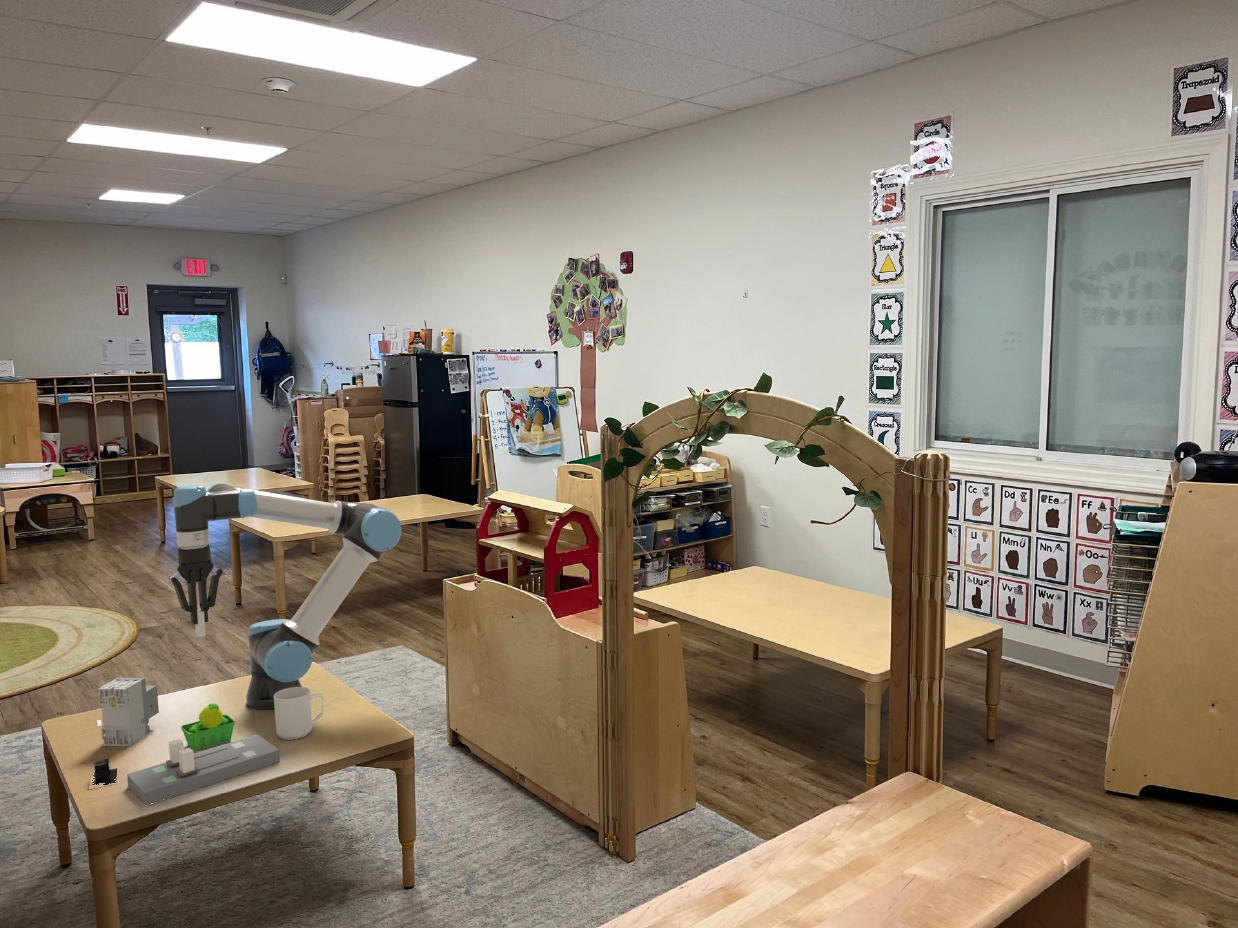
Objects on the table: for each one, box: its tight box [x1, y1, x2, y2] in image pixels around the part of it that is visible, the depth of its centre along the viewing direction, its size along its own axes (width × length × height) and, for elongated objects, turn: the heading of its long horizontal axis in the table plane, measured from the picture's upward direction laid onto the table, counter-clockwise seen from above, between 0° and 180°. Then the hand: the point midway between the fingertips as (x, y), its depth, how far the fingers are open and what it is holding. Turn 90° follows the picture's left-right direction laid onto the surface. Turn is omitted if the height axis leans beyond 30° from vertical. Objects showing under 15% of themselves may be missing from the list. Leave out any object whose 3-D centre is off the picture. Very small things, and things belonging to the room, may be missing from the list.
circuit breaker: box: [97, 677, 160, 747], centre depth 234 cm, size 8×14×15 cm, turn 174°
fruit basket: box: [180, 702, 236, 752], centre depth 227 cm, size 11×9×11 cm
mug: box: [274, 686, 324, 741], centre depth 233 cm, size 12×9×11 cm
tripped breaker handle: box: [176, 747, 199, 777], centre depth 204 cm, size 4×3×5 cm
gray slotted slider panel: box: [126, 734, 281, 806], centre depth 211 cm, size 30×13×3 cm, turn 134°
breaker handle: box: [165, 738, 185, 767], centre depth 209 cm, size 4×3×5 cm
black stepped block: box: [92, 757, 118, 785], centre depth 210 cm, size 12×7×5 cm, turn 27°
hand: (200, 635), depth 231 cm, fingers closed
